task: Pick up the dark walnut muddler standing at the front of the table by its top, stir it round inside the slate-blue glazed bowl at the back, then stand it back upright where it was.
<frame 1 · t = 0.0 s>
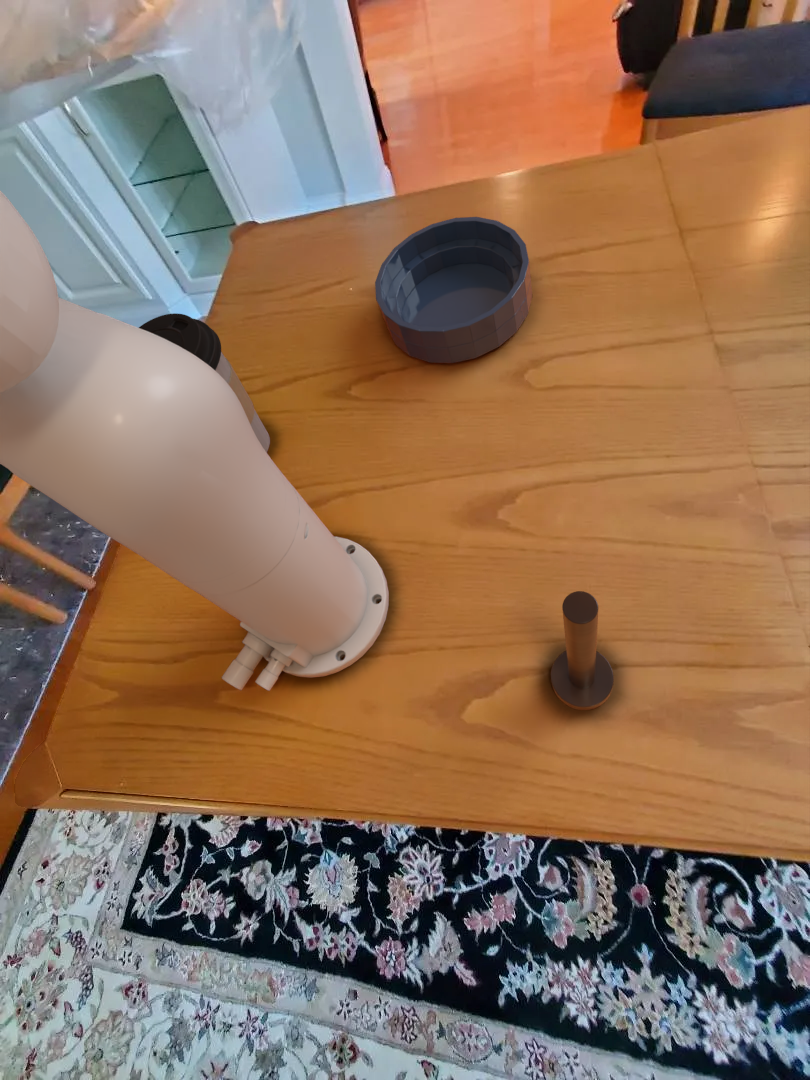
bowl: (458, 309, 66), on the table
coffee cup: (244, 450, 65), on the table
muddler: (581, 680, 46), on the table
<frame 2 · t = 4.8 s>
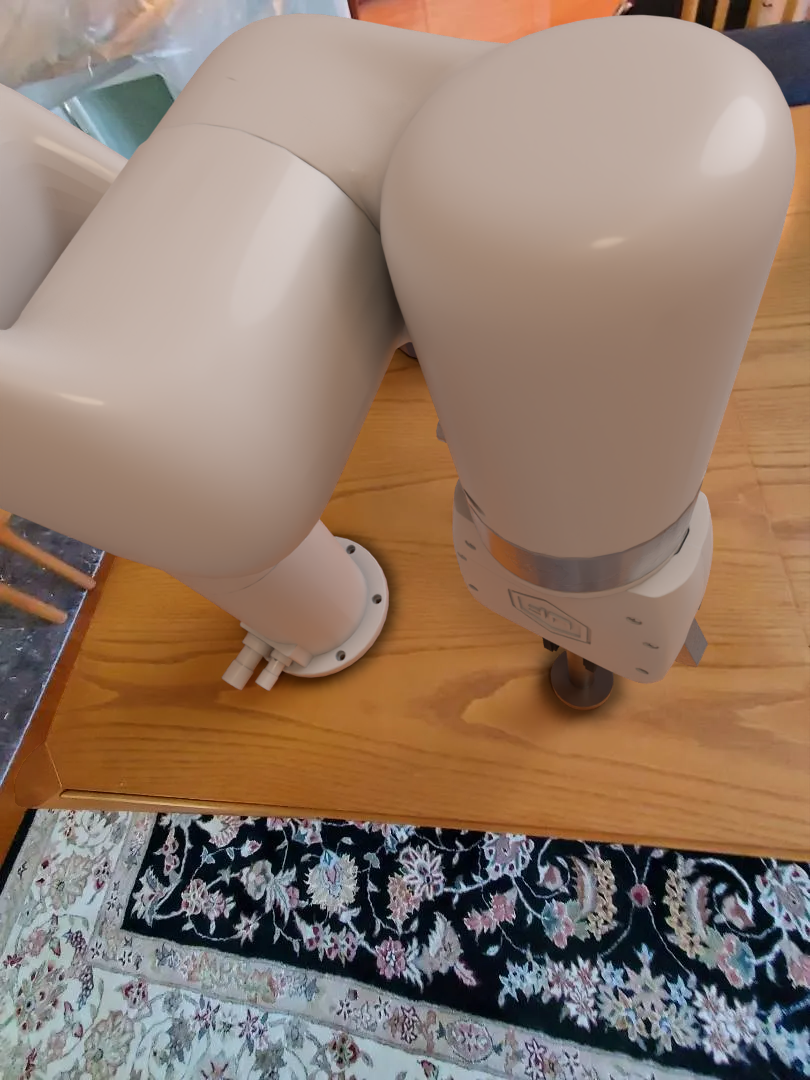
hand: (580, 637, 37), 11 cm above the table, tool pointing down, fingers closed on muddler
muddler: (581, 680, 46), on the table, touching gripper
everything else where it was.
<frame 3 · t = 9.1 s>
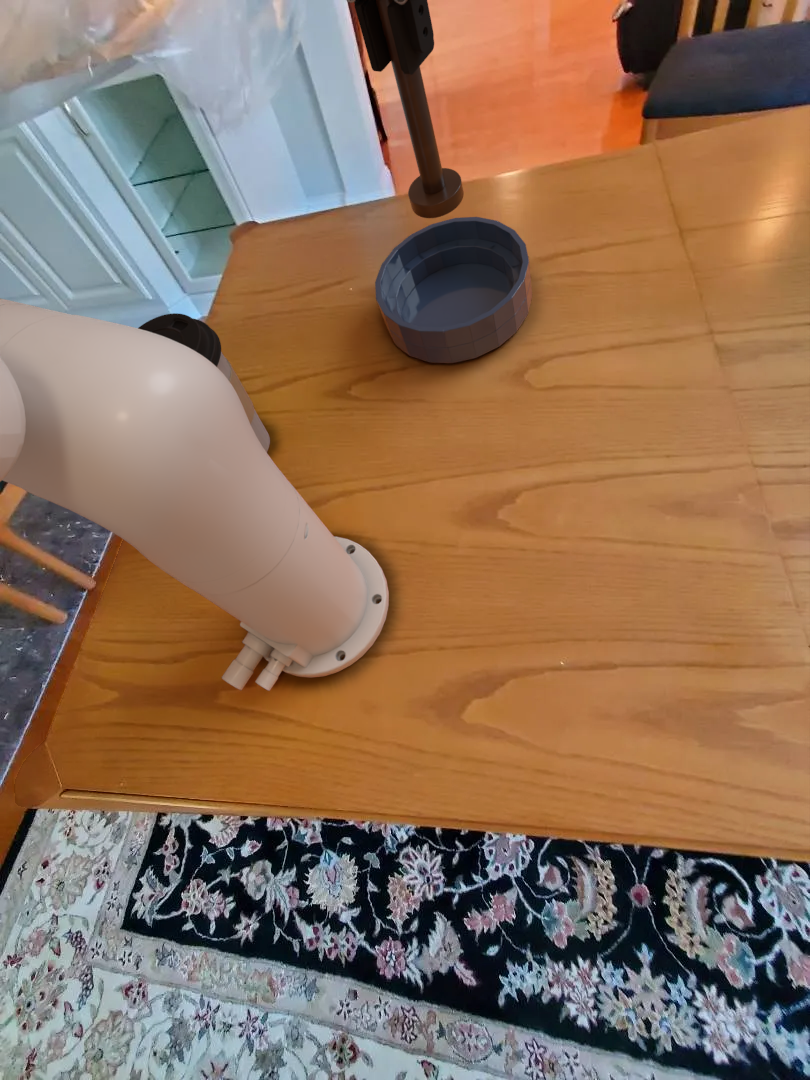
hand: (403, 58, 42), 25 cm above the table, tool pointing down, fingers closed on muddler
muddler: (437, 199, 52), point 15 cm above the table, touching gripper
everything else where it was.
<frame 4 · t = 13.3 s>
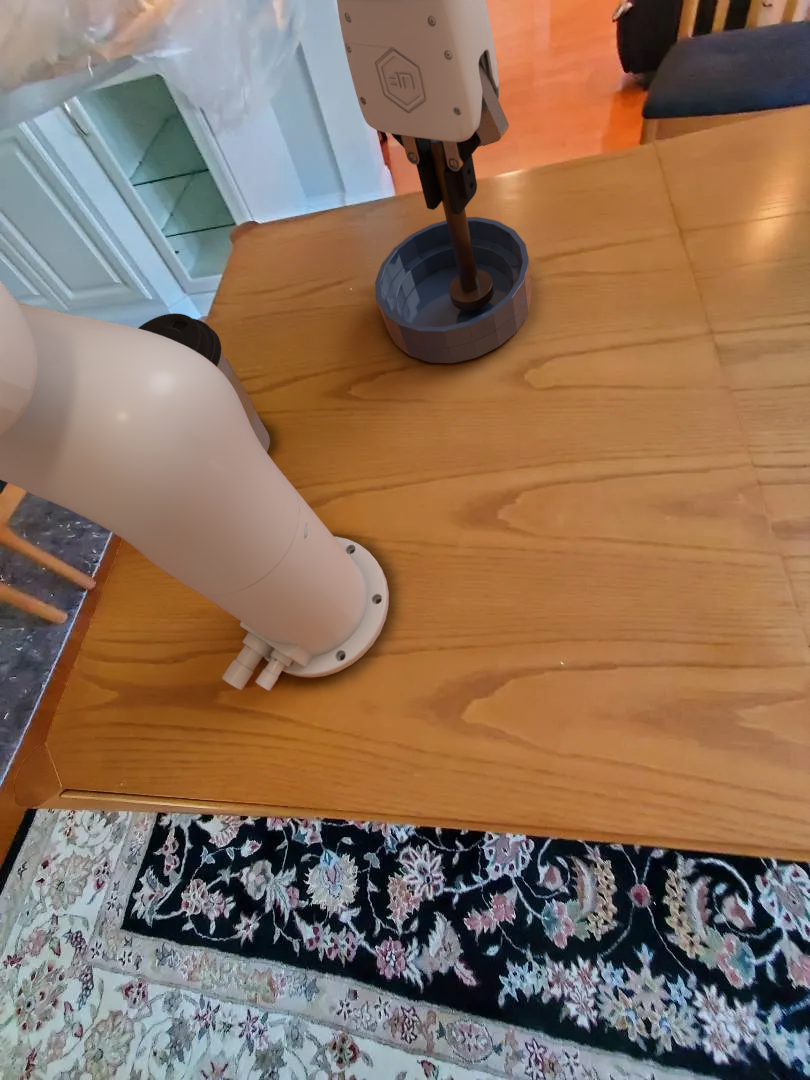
hand: (451, 199, 54), 13 cm above the table, tool pointing down, fingers closed on muddler
muddler: (472, 294, 63), point 2 cm above the table, touching gripper
everything else where it was.
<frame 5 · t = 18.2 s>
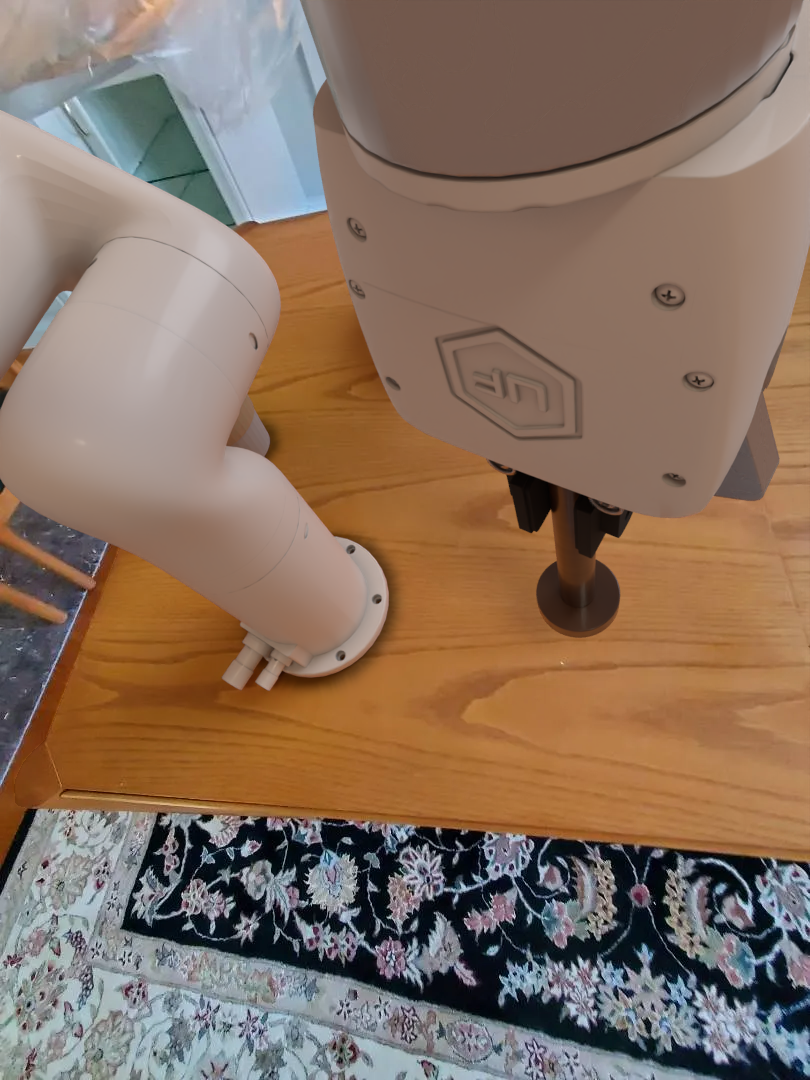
hand: (572, 512, 26), 25 cm above the table, tool pointing down, fingers closed on muddler
muddler: (577, 599, 35), point 14 cm above the table, touching gripper
everything else where it was.
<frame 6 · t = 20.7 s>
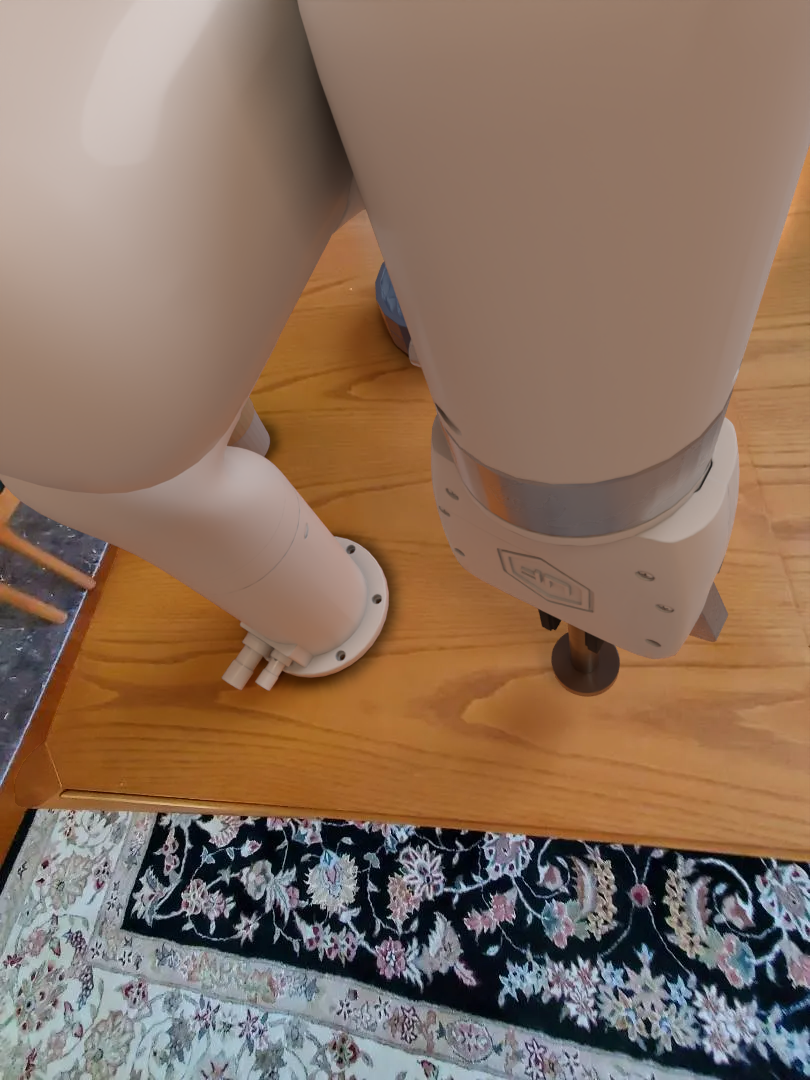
hand: (582, 615, 33), 15 cm above the table, tool pointing down, fingers closed on muddler
muddler: (585, 664, 43), point 4 cm above the table, touching gripper
everything else where it was.
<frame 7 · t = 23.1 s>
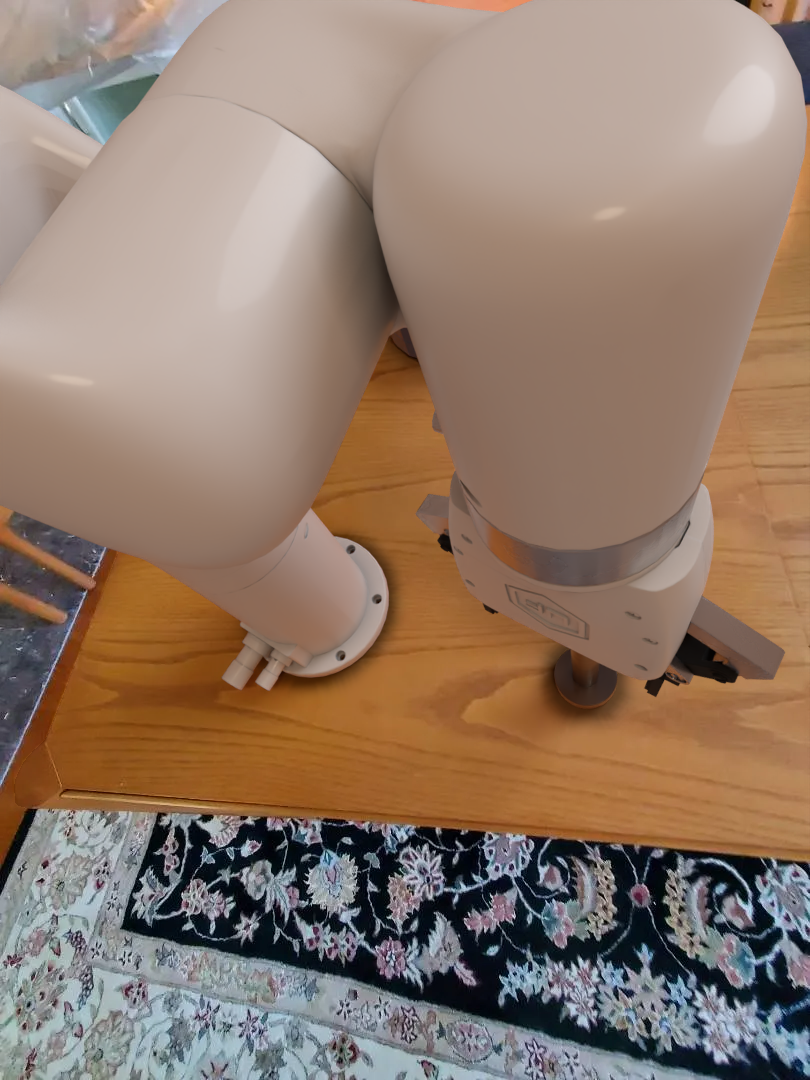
hand: (578, 628, 36), 12 cm above the table, tool pointing down, fingers open, 9 cm apart
muddler: (585, 678, 46), on the table
everything else where it was.
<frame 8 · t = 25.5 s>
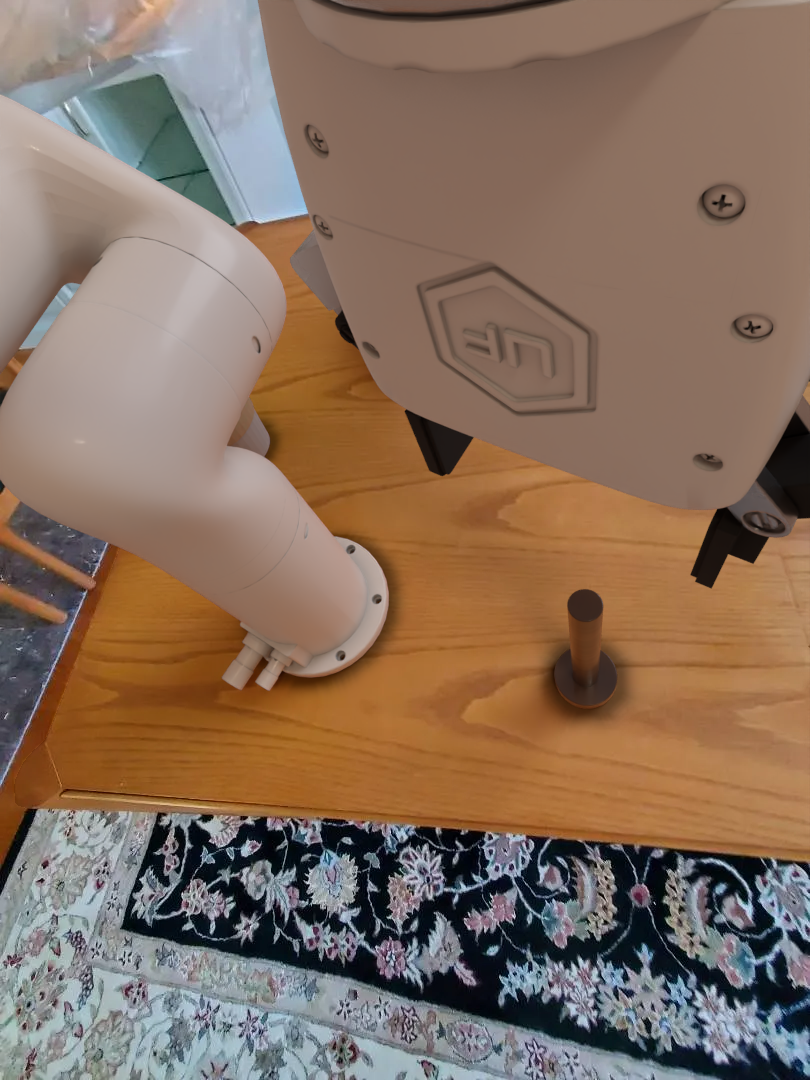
hand: (577, 490, 22), 28 cm above the table, tool pointing down, fingers open, 9 cm apart
nothing on the table moved.
at the end: muddler tilted 0°; the gripper is holding nothing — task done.
